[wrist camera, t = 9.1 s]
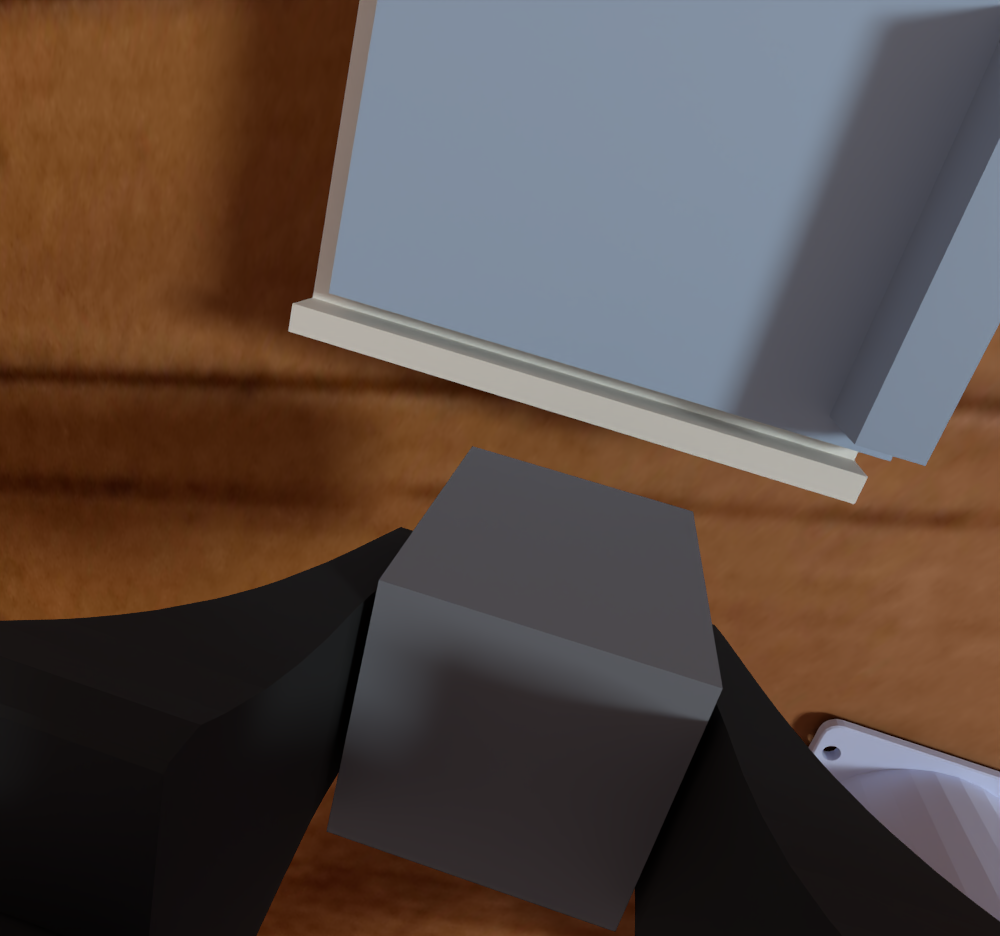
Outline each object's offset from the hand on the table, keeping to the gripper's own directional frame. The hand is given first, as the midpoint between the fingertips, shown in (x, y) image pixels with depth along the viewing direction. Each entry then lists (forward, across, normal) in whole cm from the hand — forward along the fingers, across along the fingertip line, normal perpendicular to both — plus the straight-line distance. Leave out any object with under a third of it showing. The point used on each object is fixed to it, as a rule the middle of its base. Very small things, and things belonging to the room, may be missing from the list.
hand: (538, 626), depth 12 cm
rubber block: (+2, 0, 0) cm, 2 cm away
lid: (+5, 0, -7) cm, 9 cm away
